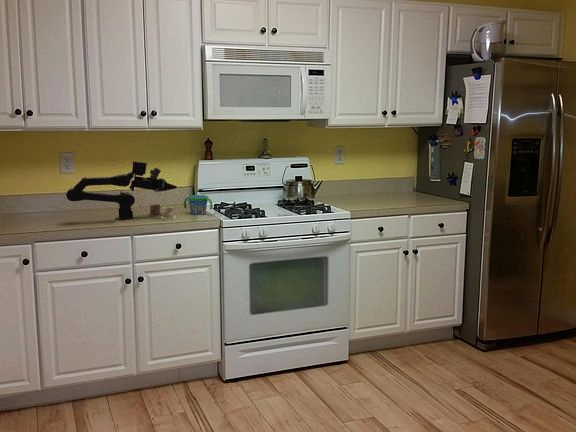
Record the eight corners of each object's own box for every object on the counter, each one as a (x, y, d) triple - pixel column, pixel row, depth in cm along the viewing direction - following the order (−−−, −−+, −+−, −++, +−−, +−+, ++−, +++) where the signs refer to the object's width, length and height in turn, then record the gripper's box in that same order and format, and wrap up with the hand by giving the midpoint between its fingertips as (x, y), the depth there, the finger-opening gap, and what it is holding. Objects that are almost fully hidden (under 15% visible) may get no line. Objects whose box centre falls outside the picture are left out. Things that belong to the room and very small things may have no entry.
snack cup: (216, 214, 322) (215, 195, 320) (206, 218, 313) (205, 198, 311) (190, 212, 328) (190, 194, 326) (180, 216, 319) (179, 196, 317)
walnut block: (150, 215, 314) (150, 206, 313) (150, 214, 318) (149, 204, 318) (160, 215, 315) (160, 205, 314) (159, 213, 320) (159, 204, 319)
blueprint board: (150, 221, 302) (150, 219, 302) (149, 215, 321) (149, 213, 321) (183, 220, 306) (183, 218, 306) (179, 213, 325) (179, 211, 325)
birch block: (163, 218, 306) (163, 208, 305) (162, 216, 310) (162, 206, 309) (173, 217, 307) (173, 208, 306) (172, 216, 312) (172, 206, 311)
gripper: (148, 166, 297) (180, 170, 302) (144, 168, 314) (174, 172, 319) (145, 188, 296) (177, 193, 302) (141, 189, 314) (171, 193, 319)
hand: (175, 187), depth 310 cm, fingers open, 9 cm apart
